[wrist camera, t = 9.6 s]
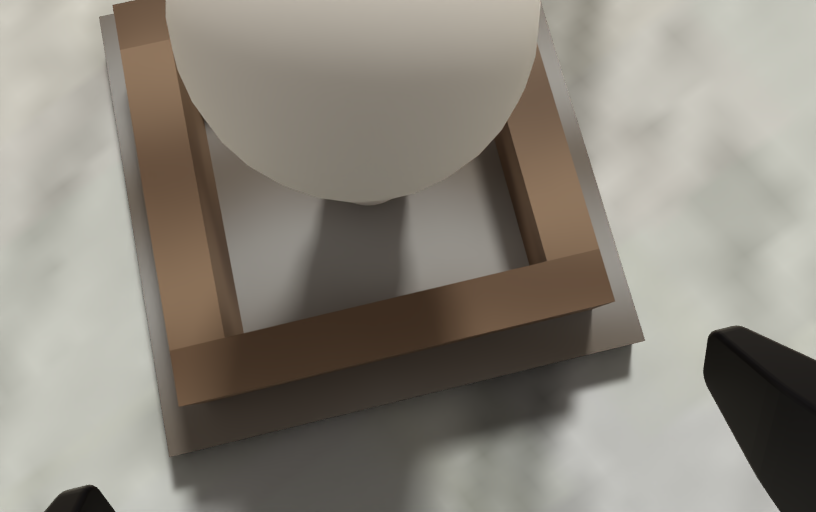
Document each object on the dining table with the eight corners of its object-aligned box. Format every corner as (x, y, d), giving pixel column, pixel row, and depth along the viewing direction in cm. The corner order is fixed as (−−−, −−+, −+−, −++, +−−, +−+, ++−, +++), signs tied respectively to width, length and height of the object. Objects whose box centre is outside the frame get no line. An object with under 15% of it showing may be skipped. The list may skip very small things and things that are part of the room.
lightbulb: (361, 317, 17) (325, 227, 7) (222, 165, 18) (-16, -140, 7) (513, 178, 18) (696, -98, 8) (375, 39, 19) (363, -396, 8)
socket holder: (632, 342, 18) (675, 336, 15) (182, 452, 18) (137, 468, 15) (512, -52, 21) (530, -122, 18) (114, 34, 20) (63, -24, 17)
